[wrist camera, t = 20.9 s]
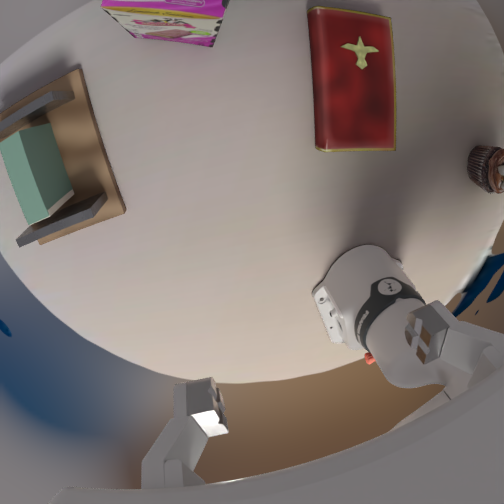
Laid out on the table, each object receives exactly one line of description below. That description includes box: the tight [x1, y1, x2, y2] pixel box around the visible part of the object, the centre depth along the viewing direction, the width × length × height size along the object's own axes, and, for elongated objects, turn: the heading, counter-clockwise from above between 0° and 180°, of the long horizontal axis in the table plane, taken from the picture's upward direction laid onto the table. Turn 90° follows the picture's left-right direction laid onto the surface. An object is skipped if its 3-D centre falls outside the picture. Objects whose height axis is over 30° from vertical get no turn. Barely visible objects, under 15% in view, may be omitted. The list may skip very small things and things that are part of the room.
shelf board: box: [0, 69, 126, 245], centre depth 36 cm, size 22×16×2 cm
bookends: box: [0, 91, 108, 247], centre depth 32 cm, size 16×13×7 cm
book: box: [0, 123, 74, 225], centre depth 32 cm, size 4×11×9 cm, turn 13°
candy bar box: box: [101, 0, 230, 47], centre depth 25 cm, size 11×5×16 cm, turn 76°
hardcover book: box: [307, 6, 396, 152], centre depth 37 cm, size 12×21×4 cm, turn 4°
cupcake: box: [467, 146, 504, 194], centre depth 44 cm, size 10×10×10 cm
